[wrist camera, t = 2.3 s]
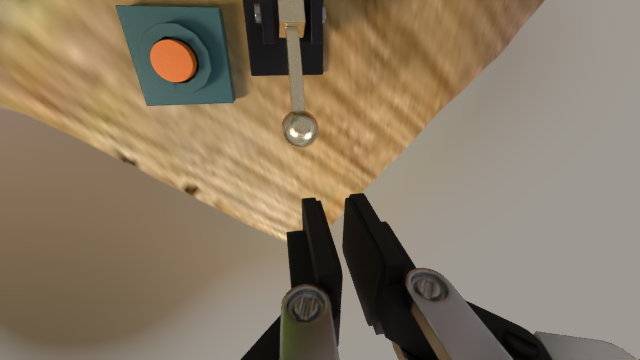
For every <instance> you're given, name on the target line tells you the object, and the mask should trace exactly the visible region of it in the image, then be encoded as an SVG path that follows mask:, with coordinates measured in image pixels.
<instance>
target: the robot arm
mask: <svg viewBox="0 0 640 360" xmlns="http://www.w3.org/2000/svg"><path fill="white" fill-rule="evenodd" d="M302 220H303V230H302V231H292V232H287V244H288V256H289V268H290V280H291V290H290V291H289V292H287V293H286V295H285V297H284V298H283V300H282V306H281V315H280V316H279V317H278V318H277V320H276V321H275V322H274V323H273V324H272V325H271V326H270V327H269V329H268V330H267V331H266V332H265V333H264V334H263V335H262V336H261V338H260V339H259V340H258V341H257V342H256V343H255V344H254V345H253V346H252V347H251V349H250V350H249V351H248V352H247V353H246V354H245V355H244V356H243V357H242V359H241V360H339V355H338V348H337V347H338V344H339V328H340V313H341V311H340V309H341V308H340V307H341V294H342V269H341V264H340V261H339V258H338V254H337V251H336V248H335V245H334V242H333V238H332V235H331V232H330V229H329V226H328V222H327V219H326V216H325V213H324V210H323V207H322V203H321V201H316V199H315V198H304V199H302ZM343 228H344V229H343V244H342V248H343V253H344V257H345V259H346V263H347V266H348V268H349V271H350V274H351V277H352V280H353V283H354V286H355V289H356V292H357V295H358V298H359V300H360V303H361V306H362V309H363V312H364V315H365V318H366V321H367V323H368V325H369V326H373V327H374V330H375V333H376V335H378V334H385V337H386V338H388V339H389V340H391V341H392V344H393V348H394V350H395V352H396V355H397V357H398V359H399V360H640V359H636V358H635V357H634V356H632V355H630V354H629V353H628V352H626V351H625V350H624V349H622V348H620V347H618V346H616V345H614V344H612V343H608V342H605V341H601V340H594V339H587V338H580V337H573V336H566V335H559V334H552V333H544V332H537V331H536V332H535V333H534V335H533V334H531V333H530V332H529V331H528V330H526V329H524V328H522V327H521V326H519V325H517V324H514V323H512V322H510V321H508V320H506V319H504V318H502V317H499V316H497V315H495V314H493V313H491V312H489V311H487V310H485V309H482V308H480V307H478V306H476V305H474V304H472V303H469V302H467V301H465V300H464V299H463V298H462V296H461V295H460V294H459V293H458V292H457V290H456V289H455V288H454V287H453V286H452V284H451V283H450V282H449V281H448V280H447V279H446V278H445V277H444V276H443V275H441V274H440V273H438V272H436V271H434V270H431V269H426V268H416V267H415V265H414V264H413V262H412V261H411V259H410V257H409V256H408V254H407V253H406V251H405V249H404V248H403V246H402V245H401V243H400V242H399V240H398V238H397V237H396V236H395V234H394V232H393V231H392V229H391V227H390V226H389V224H387V222H385V221H384V222H381V221H380V219H379V218H378V216H377V215H376V213H375V211H374V210H373V208H372V206H371V205H370V203H369V201H368V200H367V198H366V196H365V195H364V194H363V193H359V194H350V196H349V198H346V199H345V210H344V227H343Z"/></svg>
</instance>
